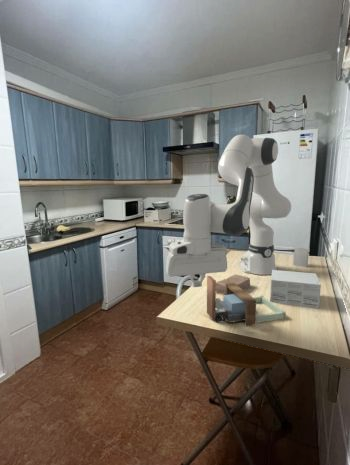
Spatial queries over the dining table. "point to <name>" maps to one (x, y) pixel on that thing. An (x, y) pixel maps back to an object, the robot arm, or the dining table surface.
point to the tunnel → (250, 301)
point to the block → (234, 303)
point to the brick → (237, 279)
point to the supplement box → (295, 288)
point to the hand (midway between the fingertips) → (196, 286)
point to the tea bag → (300, 257)
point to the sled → (219, 304)
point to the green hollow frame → (270, 316)
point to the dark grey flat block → (219, 319)
